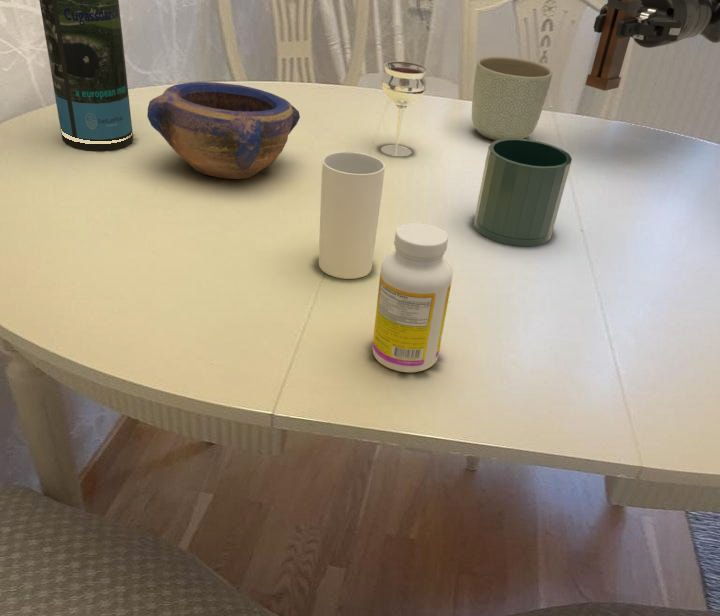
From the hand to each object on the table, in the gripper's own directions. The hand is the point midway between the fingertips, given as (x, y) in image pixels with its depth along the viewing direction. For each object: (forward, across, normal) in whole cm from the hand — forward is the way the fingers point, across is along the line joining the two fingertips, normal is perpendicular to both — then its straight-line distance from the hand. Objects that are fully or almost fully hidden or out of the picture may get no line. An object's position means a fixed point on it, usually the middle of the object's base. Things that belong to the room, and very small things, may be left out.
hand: (608, 26), depth 110 cm
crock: (+30, +10, +20) cm, 37 cm away
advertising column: (+59, -45, +20) cm, 77 cm away
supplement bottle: (+65, +23, +20) cm, 72 cm away
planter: (0, -15, +20) cm, 25 cm away
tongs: (-3, 0, +8) cm, 9 cm away
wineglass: (+22, -19, +20) cm, 35 cm away
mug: (+55, +5, +20) cm, 59 cm away
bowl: (+49, -27, +20) cm, 59 cm away
